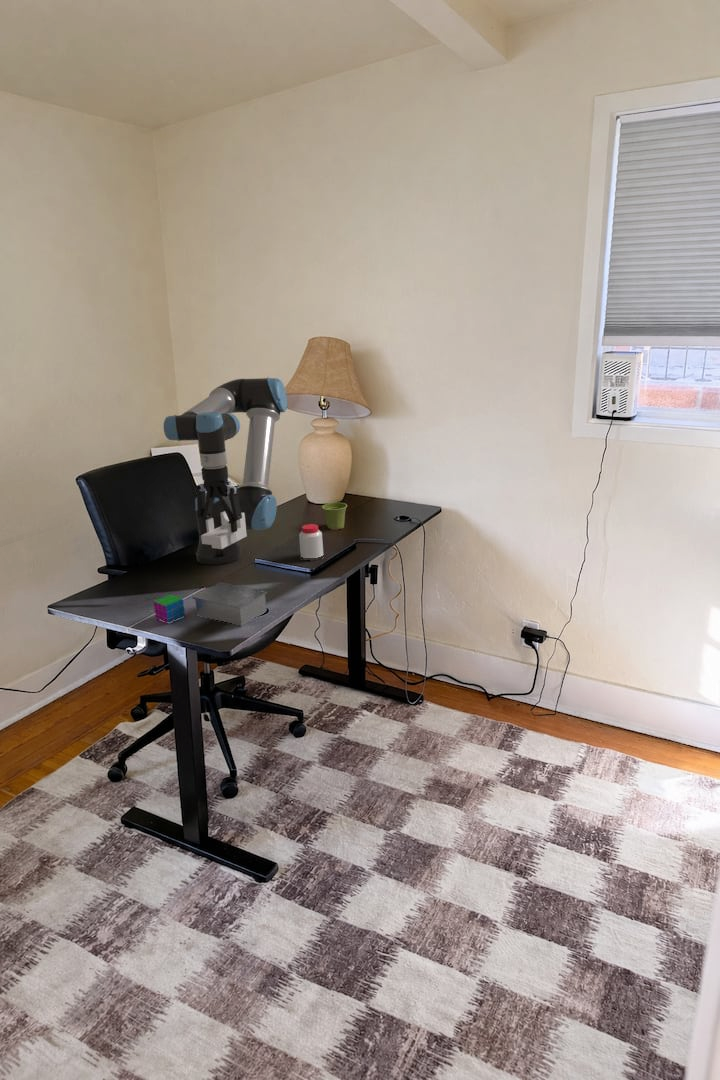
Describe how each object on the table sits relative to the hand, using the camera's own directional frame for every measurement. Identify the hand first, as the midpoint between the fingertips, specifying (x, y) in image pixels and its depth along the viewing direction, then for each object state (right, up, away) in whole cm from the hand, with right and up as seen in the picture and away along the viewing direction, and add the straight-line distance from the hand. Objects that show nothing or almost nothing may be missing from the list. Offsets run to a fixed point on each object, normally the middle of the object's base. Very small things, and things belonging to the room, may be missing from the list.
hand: (222, 540), depth 220 cm
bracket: (+1, 0, +1) cm, 2 cm away
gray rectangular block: (+5, -21, -14) cm, 25 cm away
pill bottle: (+25, -6, +28) cm, 38 cm away
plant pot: (+32, +5, +58) cm, 66 cm away
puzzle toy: (-12, -22, -15) cm, 29 cm away
